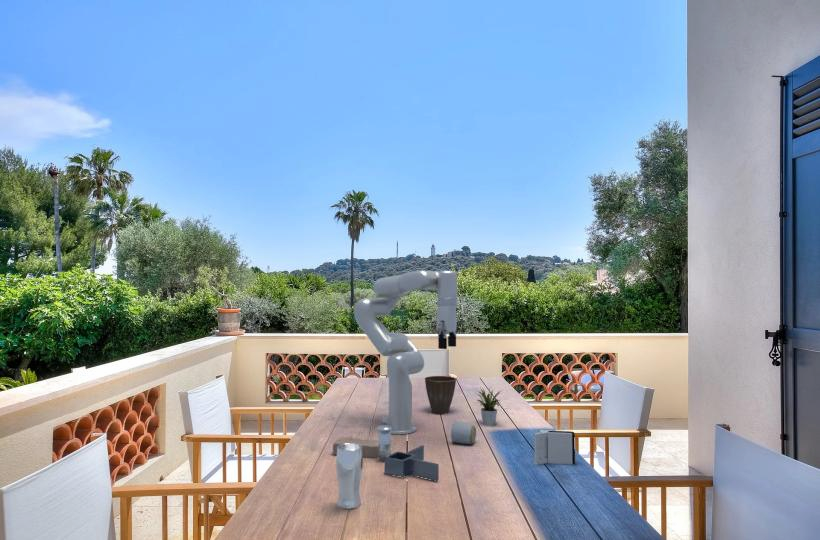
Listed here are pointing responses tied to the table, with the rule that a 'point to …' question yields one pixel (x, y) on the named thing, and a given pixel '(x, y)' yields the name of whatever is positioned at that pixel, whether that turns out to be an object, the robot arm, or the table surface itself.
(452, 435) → the ceramic mug
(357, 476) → the beer glass
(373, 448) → the brick
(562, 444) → the hinge
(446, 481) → the table surface
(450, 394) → the plant pot
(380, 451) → the hinge pin
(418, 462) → the grey cross-shaped holder
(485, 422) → the house plant
